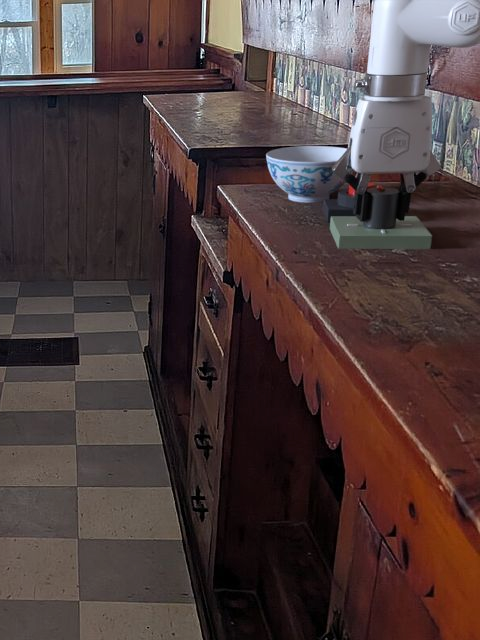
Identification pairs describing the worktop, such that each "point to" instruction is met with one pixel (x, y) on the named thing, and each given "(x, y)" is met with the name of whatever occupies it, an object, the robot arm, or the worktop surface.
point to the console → (379, 234)
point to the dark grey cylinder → (382, 208)
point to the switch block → (339, 205)
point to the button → (352, 191)
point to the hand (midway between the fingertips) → (379, 217)
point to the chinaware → (306, 171)
